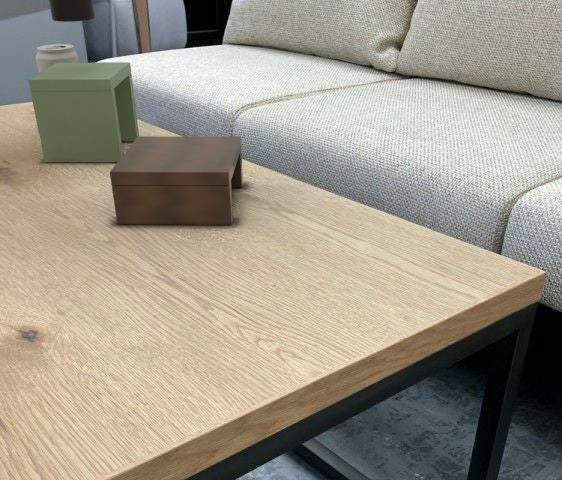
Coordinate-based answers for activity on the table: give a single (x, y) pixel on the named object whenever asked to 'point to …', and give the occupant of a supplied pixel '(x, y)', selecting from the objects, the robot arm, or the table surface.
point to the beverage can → (55, 55)
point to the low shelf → (177, 180)
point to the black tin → (72, 10)
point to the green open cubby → (84, 111)
